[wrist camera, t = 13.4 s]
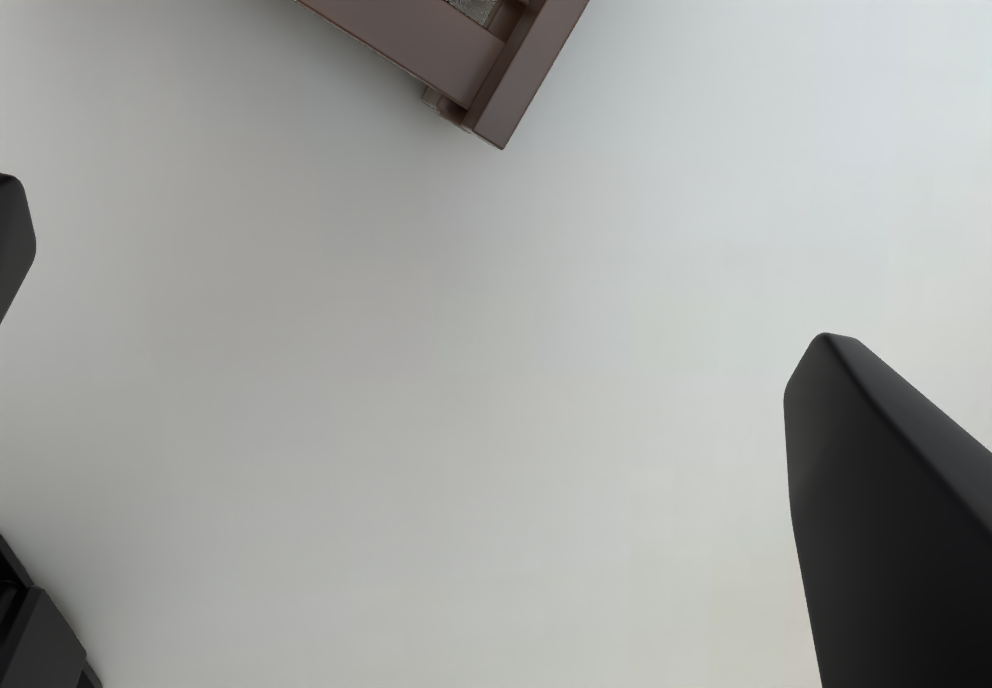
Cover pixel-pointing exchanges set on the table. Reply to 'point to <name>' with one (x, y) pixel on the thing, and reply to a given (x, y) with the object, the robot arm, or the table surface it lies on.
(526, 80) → the rack
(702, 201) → the table surface
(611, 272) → the table surface
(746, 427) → the table surface
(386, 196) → the table surface
